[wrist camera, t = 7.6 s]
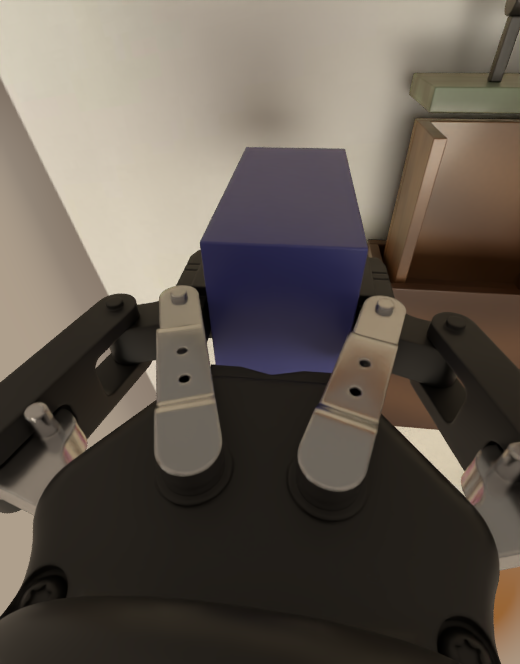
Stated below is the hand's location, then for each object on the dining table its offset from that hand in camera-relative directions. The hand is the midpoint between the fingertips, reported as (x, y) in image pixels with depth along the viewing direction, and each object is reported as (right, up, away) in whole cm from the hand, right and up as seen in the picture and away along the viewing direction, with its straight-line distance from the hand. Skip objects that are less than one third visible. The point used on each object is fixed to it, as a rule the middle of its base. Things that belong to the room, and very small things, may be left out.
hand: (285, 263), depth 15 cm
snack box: (+1, +3, +4) cm, 5 cm away
